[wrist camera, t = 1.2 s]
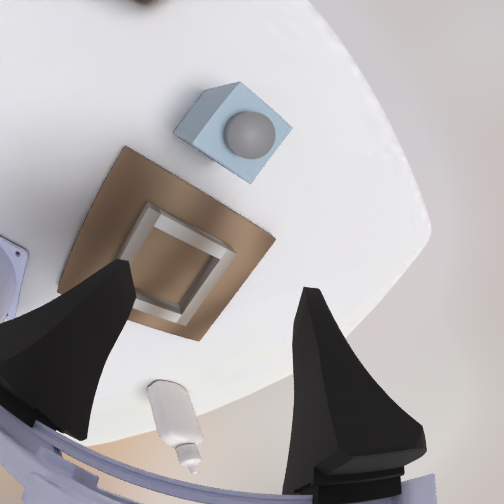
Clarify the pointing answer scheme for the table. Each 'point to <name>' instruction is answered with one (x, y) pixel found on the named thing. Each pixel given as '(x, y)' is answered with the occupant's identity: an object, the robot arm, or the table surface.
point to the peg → (234, 129)
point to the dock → (166, 246)
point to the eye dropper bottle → (176, 421)
